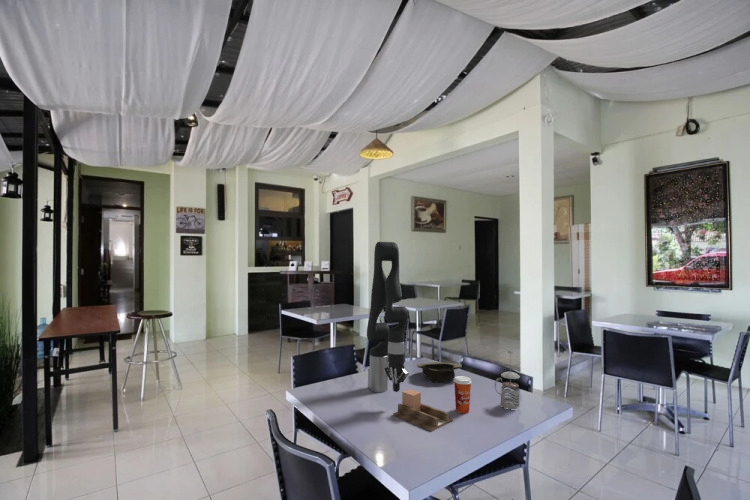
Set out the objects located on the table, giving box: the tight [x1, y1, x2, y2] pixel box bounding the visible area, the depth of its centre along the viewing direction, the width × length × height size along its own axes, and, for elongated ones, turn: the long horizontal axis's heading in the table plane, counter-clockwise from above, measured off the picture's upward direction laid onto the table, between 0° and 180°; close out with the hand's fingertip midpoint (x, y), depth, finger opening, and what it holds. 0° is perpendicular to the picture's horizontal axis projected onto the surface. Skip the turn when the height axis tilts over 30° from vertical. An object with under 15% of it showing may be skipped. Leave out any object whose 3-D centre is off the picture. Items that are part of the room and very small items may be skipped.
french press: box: [494, 349, 521, 409], centre depth 169 cm, size 10×12×25 cm
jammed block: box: [401, 388, 422, 411], centre depth 159 cm, size 6×5×8 cm
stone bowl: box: [416, 361, 463, 384], centre depth 209 cm, size 25×25×9 cm
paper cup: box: [453, 375, 472, 414], centre depth 163 cm, size 8×8×14 cm
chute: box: [392, 403, 454, 432], centre depth 155 cm, size 20×14×4 cm
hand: (396, 391), depth 165 cm, fingers closed
